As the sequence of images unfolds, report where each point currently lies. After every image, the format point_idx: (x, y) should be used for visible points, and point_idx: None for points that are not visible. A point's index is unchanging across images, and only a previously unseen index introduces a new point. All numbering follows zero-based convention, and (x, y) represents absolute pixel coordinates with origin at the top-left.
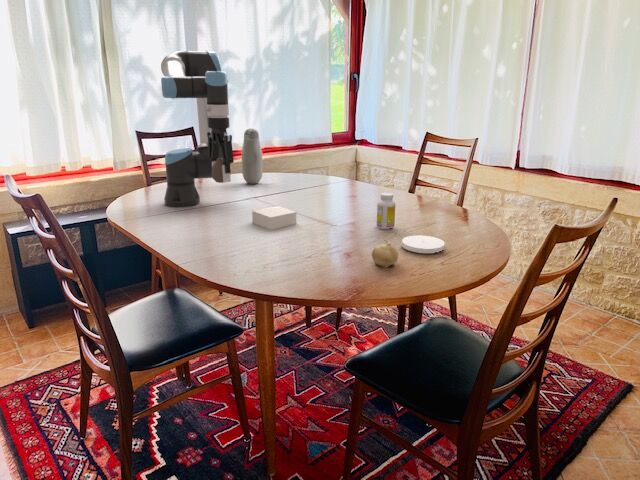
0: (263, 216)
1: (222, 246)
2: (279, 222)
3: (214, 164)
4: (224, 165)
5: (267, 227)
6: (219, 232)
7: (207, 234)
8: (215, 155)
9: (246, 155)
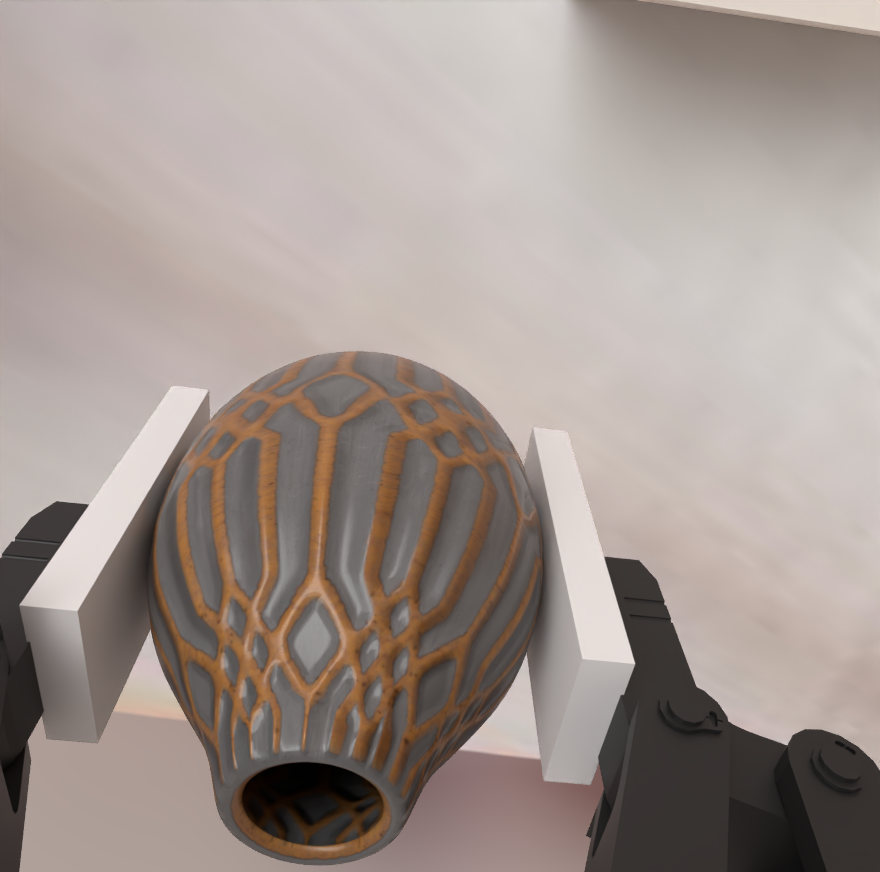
0: (819, 22)
1: (796, 553)
2: None
3: (304, 779)
4: (592, 747)
5: (839, 30)
6: (560, 405)
7: None
8: (2, 835)
9: None
